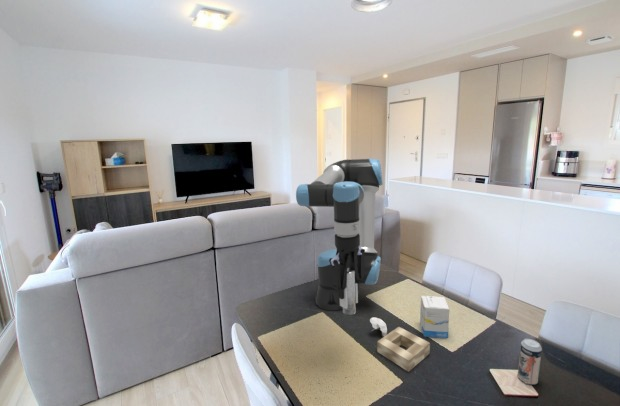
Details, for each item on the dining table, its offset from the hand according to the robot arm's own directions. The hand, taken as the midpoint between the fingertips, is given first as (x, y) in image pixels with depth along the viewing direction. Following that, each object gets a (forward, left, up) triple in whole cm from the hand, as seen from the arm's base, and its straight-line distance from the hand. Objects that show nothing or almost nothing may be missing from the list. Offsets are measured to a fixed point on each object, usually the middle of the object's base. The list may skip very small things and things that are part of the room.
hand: (348, 303), depth 94 cm
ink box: (+11, +33, -20) cm, 40 cm away
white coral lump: (-2, +18, -20) cm, 27 cm away
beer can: (+40, +32, -20) cm, 55 cm away
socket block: (+10, +15, -20) cm, 27 cm away
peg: (0, 0, -3) cm, 3 cm away
